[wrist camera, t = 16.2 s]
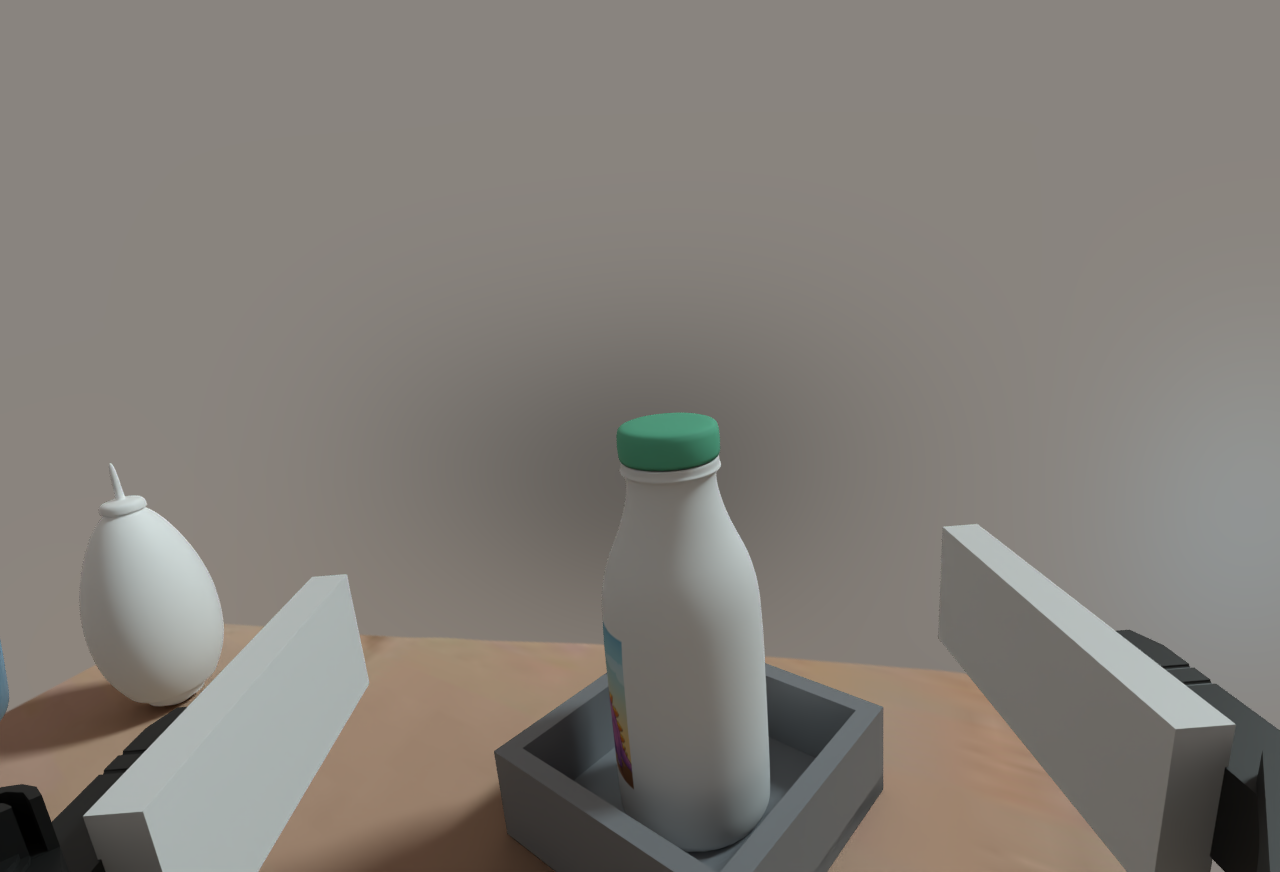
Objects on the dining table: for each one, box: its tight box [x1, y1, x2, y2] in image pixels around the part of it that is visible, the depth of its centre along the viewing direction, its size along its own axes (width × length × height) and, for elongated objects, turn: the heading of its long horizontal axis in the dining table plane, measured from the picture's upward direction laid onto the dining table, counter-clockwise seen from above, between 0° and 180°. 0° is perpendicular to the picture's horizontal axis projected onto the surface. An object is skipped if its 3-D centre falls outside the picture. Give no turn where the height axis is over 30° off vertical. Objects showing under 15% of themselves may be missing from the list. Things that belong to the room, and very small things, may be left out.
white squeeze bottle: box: [79, 463, 224, 706], centre depth 48 cm, size 8×8×18 cm
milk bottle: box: [602, 413, 770, 852], centre depth 33 cm, size 8×8×20 cm
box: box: [494, 663, 883, 872], centre depth 35 cm, size 14×14×5 cm
